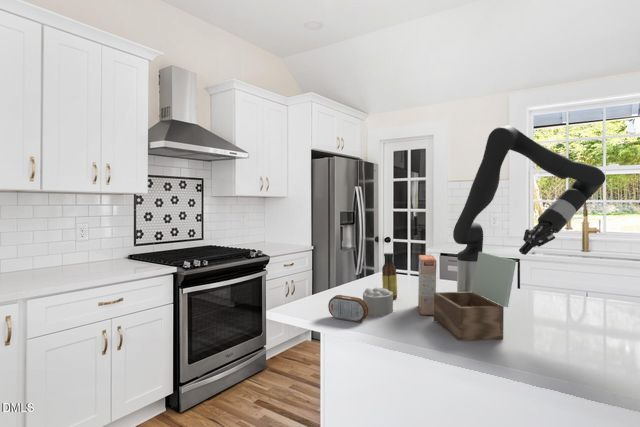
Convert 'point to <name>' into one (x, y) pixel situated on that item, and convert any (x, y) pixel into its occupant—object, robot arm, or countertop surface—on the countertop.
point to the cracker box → (426, 284)
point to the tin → (348, 308)
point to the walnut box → (468, 316)
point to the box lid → (494, 278)
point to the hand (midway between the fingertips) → (521, 252)
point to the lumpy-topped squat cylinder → (378, 301)
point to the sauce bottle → (389, 274)
